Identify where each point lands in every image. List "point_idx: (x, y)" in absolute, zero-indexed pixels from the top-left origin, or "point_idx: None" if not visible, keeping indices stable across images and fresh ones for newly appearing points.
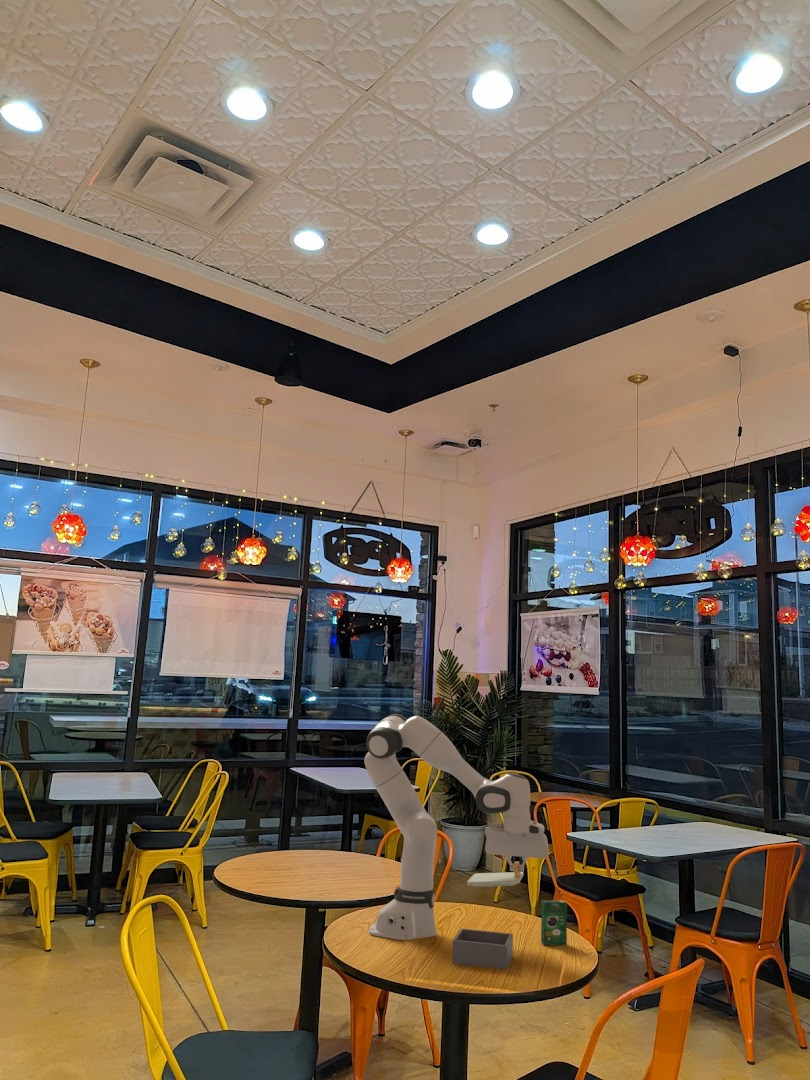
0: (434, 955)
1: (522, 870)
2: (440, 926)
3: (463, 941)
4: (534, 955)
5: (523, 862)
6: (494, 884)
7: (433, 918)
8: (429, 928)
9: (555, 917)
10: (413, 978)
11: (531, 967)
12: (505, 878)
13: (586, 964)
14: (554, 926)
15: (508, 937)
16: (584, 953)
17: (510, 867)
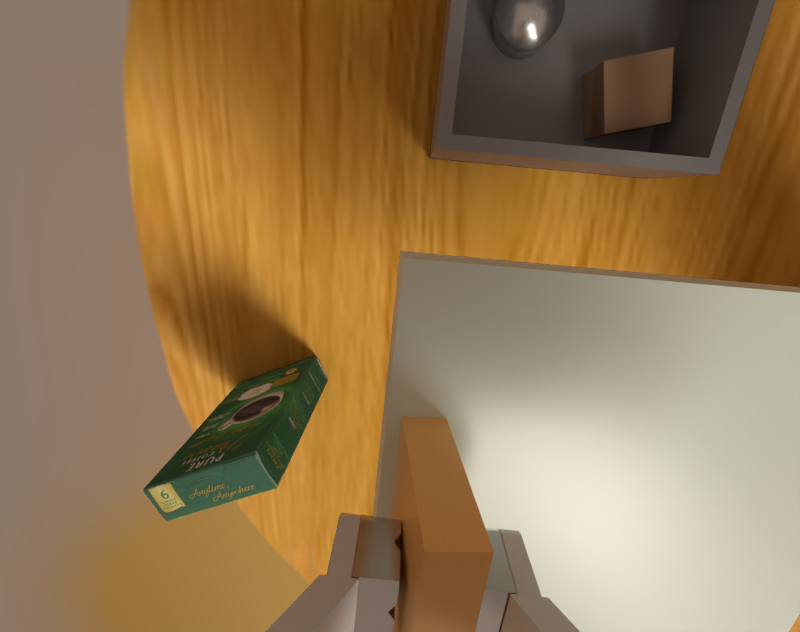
0: (767, 112)
1: (347, 517)
2: None
3: None
4: (345, 231)
5: (305, 629)
6: (670, 276)
7: None
8: None
9: (234, 423)
10: None
11: (348, 60)
12: (553, 401)
13: (139, 171)
14: (254, 400)
15: (458, 63)
16: (166, 306)
17: (520, 559)
